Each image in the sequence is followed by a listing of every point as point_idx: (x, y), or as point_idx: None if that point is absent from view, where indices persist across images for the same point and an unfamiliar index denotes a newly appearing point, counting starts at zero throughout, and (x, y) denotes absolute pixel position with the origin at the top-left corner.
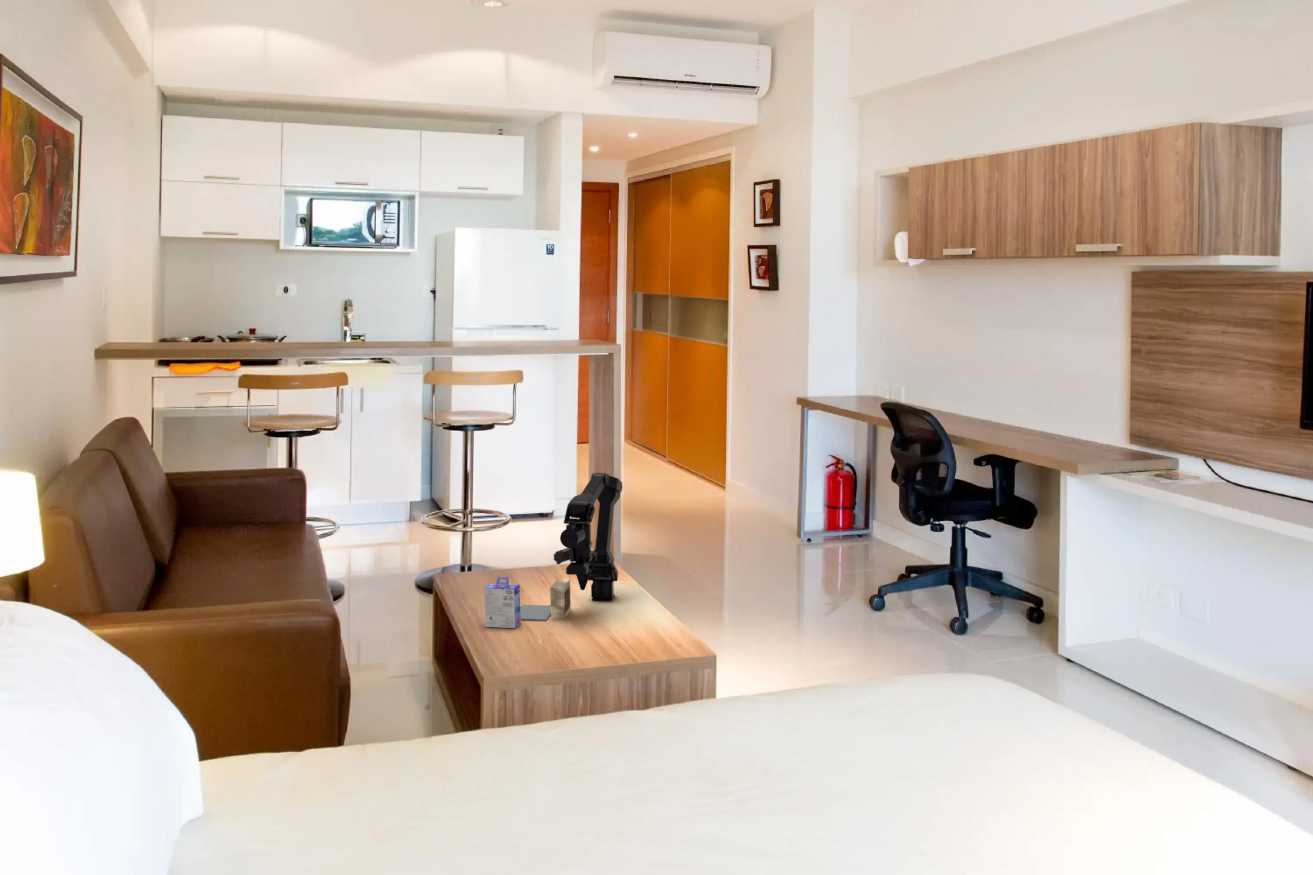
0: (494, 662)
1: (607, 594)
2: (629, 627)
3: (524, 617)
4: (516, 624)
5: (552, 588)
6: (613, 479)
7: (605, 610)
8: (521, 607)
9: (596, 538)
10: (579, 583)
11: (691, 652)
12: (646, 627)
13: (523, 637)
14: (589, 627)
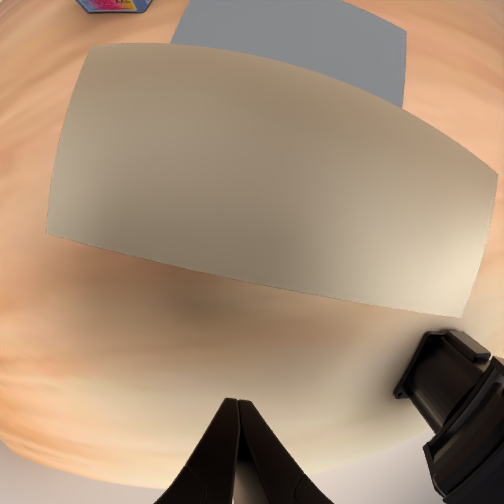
0: None
1: (417, 395)
2: (91, 425)
3: (205, 9)
4: (92, 7)
5: (84, 79)
6: None
7: (290, 390)
8: (368, 17)
9: None
10: (200, 441)
11: (11, 444)
12: (102, 452)
13: (4, 75)
14: (62, 317)
